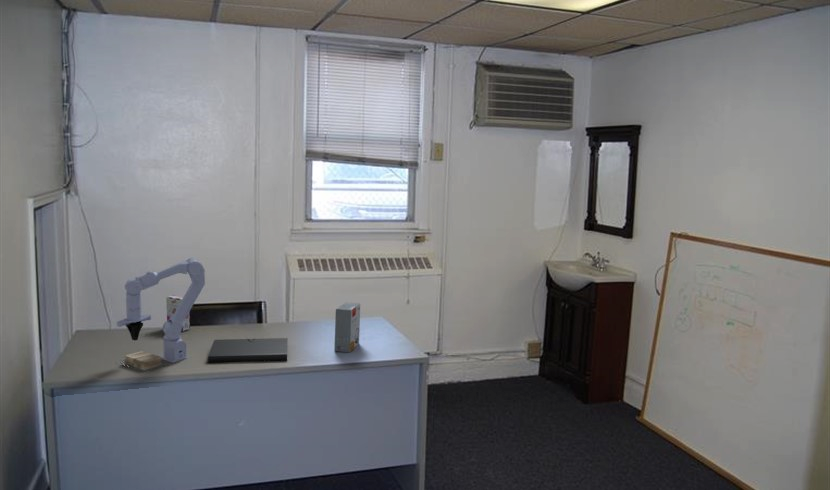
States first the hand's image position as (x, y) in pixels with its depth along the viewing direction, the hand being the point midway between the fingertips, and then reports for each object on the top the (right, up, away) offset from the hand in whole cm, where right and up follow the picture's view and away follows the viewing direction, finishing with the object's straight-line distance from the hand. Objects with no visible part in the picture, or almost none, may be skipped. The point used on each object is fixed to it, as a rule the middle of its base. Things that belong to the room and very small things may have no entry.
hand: (134, 339), depth 274 cm
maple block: (-1, -8, +2) cm, 8 cm away
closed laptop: (+43, -10, +18) cm, 48 cm away
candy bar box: (-1, -3, +52) cm, 52 cm away
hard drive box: (+86, -8, +32) cm, 92 cm away
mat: (+3, -10, -1) cm, 11 cm away
